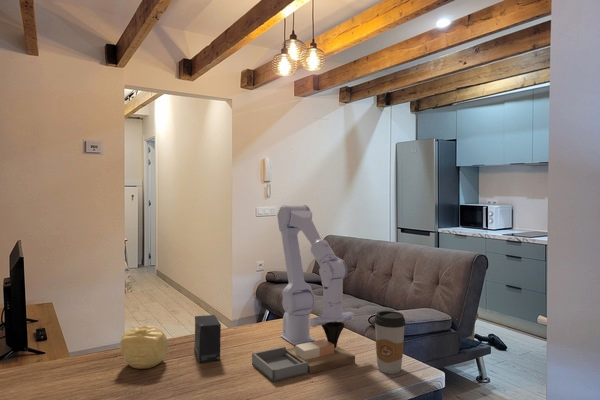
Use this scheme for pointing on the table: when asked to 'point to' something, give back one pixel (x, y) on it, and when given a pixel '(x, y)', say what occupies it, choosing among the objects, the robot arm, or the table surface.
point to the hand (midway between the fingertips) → (332, 347)
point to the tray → (278, 364)
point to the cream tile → (307, 350)
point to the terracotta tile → (324, 347)
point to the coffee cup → (389, 340)
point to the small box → (207, 338)
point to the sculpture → (144, 346)
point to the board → (325, 360)
